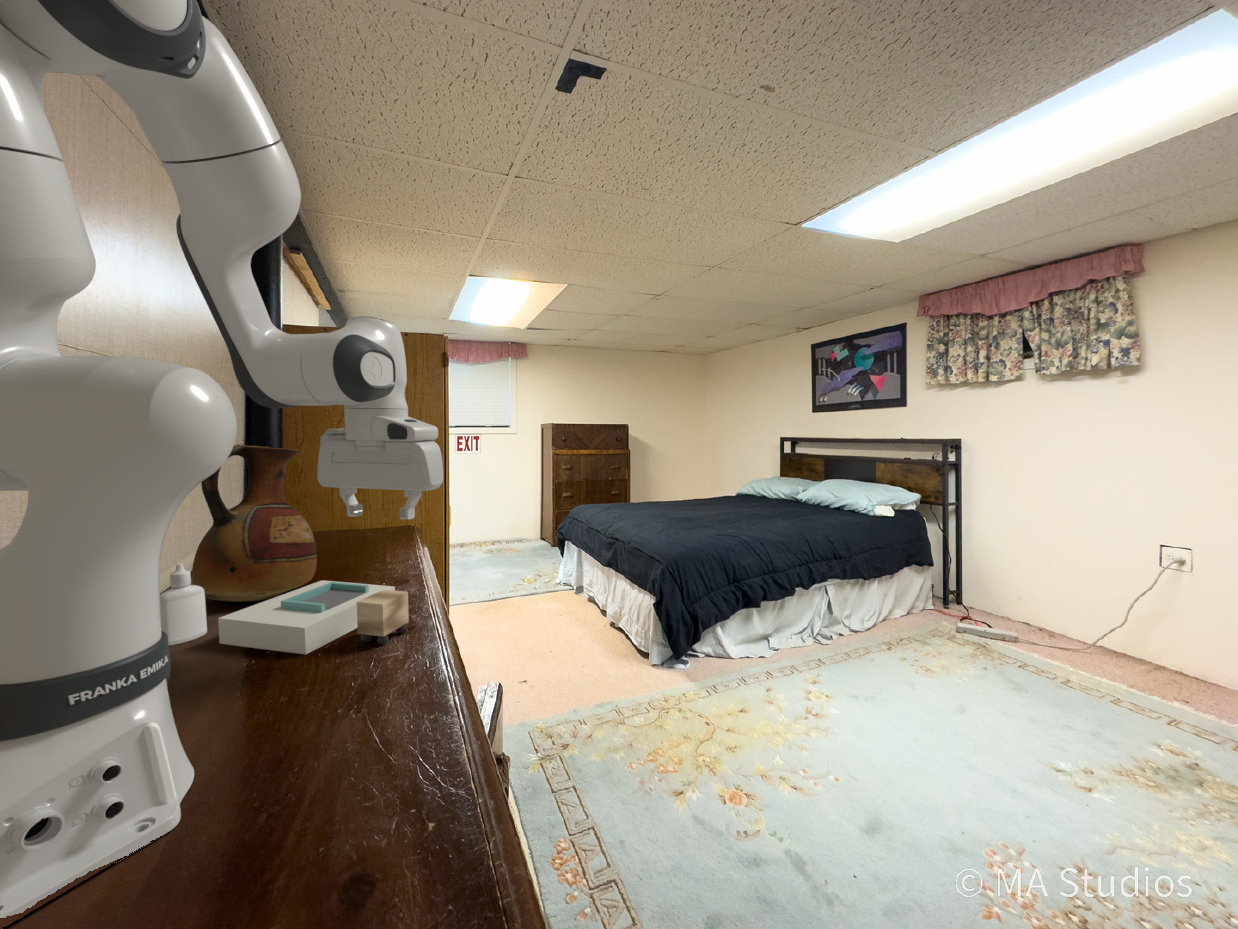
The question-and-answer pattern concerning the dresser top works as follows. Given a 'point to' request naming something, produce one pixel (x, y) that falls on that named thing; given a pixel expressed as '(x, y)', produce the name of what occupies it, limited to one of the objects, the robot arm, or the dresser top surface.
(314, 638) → the dock
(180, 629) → the eye dropper bottle
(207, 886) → the dresser top surface
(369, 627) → the beige wheeled cart
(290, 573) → the ceramic pitcher
